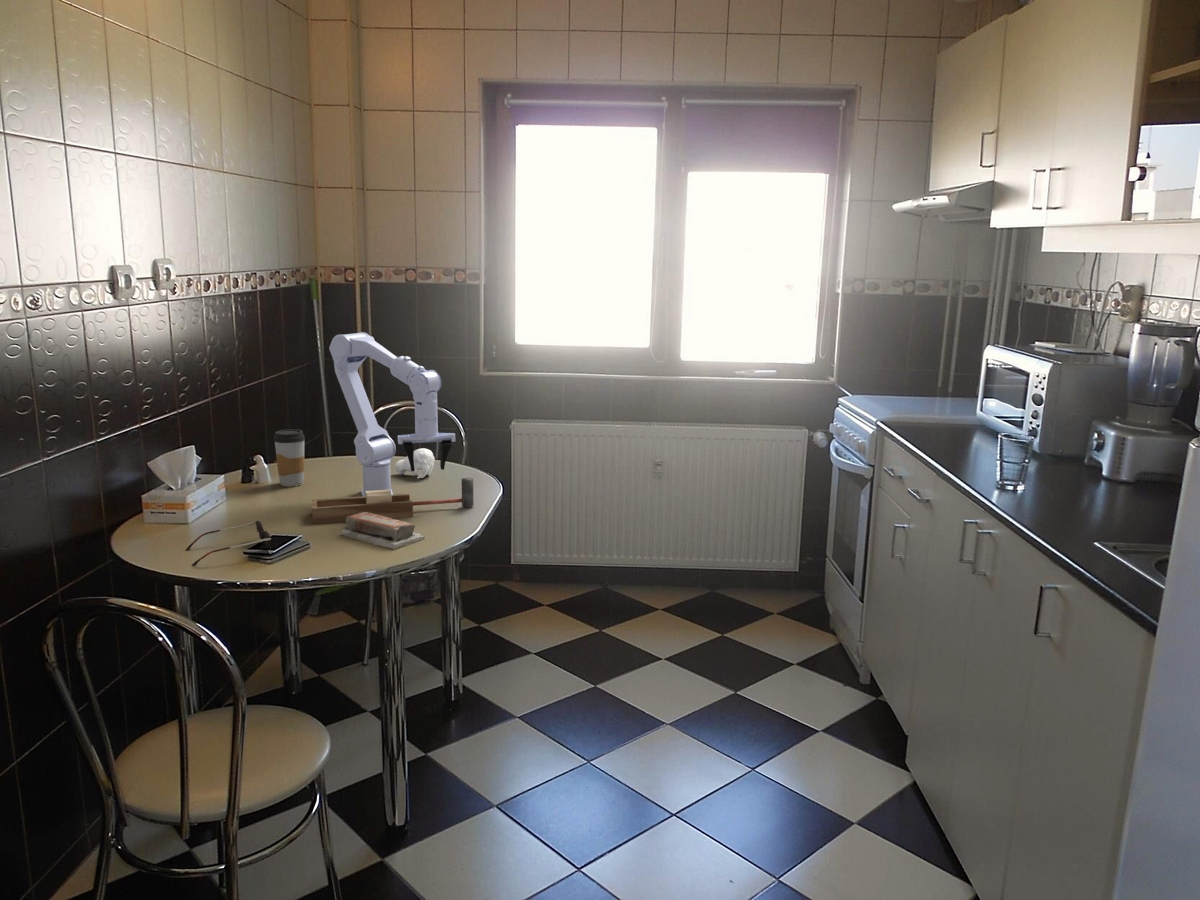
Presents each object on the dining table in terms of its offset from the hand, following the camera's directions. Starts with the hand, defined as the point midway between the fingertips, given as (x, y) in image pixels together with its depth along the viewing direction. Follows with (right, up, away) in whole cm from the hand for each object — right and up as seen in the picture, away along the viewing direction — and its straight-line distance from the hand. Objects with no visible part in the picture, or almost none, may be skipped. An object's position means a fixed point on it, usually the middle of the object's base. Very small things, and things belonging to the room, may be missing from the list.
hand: (427, 469), depth 234 cm
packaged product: (-6, -16, -25) cm, 30 cm away
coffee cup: (-42, -5, +19) cm, 46 cm away
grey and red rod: (-1, -10, -4) cm, 11 cm away
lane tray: (-15, -11, -8) cm, 20 cm away
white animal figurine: (-10, -3, +31) cm, 32 cm away
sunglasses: (-36, -18, -37) cm, 55 cm away
